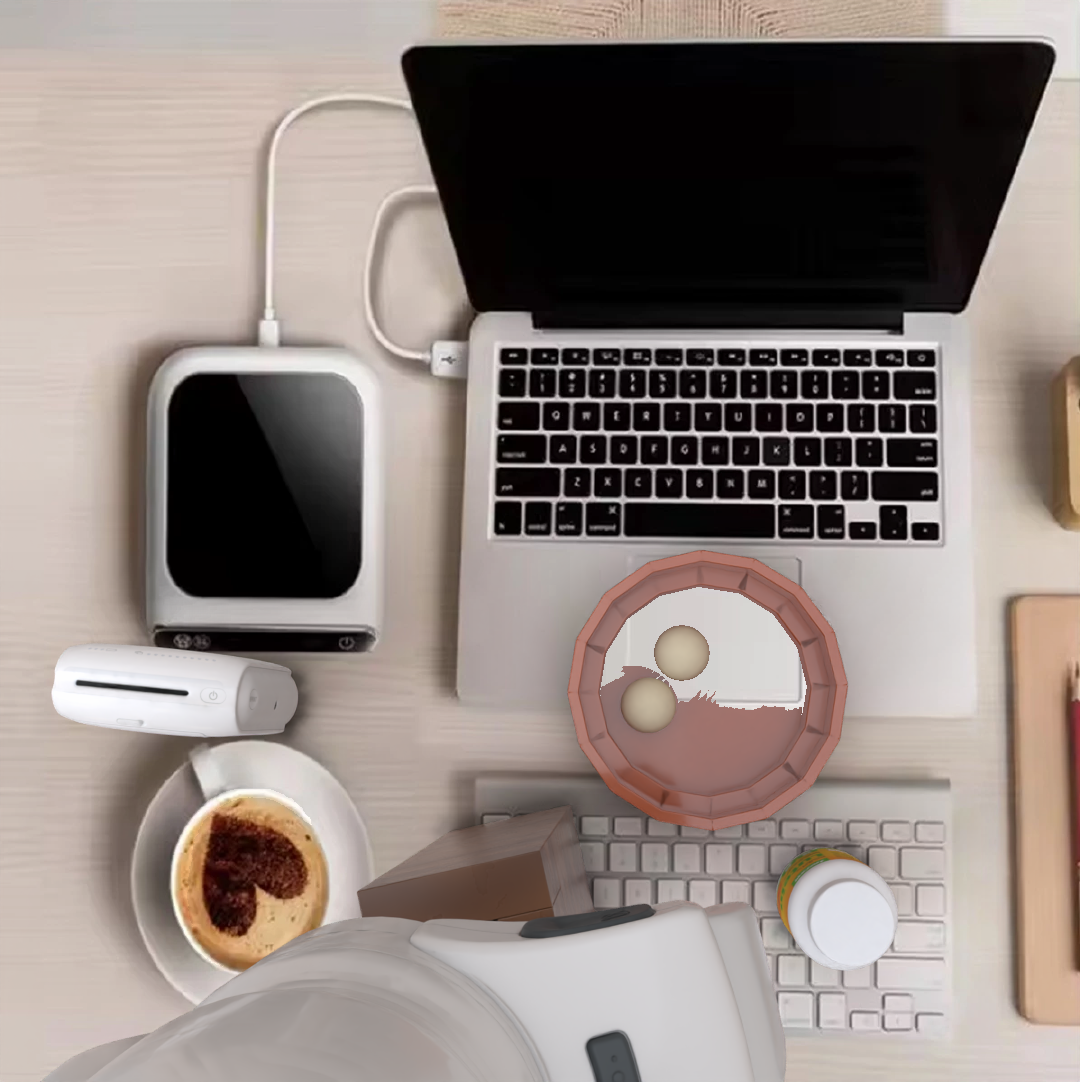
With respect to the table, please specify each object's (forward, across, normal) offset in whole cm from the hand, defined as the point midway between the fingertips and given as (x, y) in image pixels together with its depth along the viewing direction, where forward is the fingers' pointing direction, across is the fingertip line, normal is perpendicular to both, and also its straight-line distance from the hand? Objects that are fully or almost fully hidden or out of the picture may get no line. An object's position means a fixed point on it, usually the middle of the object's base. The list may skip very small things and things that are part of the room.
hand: (447, 1000), depth 45 cm
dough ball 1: (+30, +9, +8) cm, 32 cm away
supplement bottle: (+32, +16, -4) cm, 36 cm away
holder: (+32, 0, 0) cm, 32 cm away
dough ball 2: (+30, +11, +10) cm, 34 cm away
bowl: (+32, +12, +8) cm, 35 cm away
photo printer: (+32, -15, +14) cm, 38 cm away
